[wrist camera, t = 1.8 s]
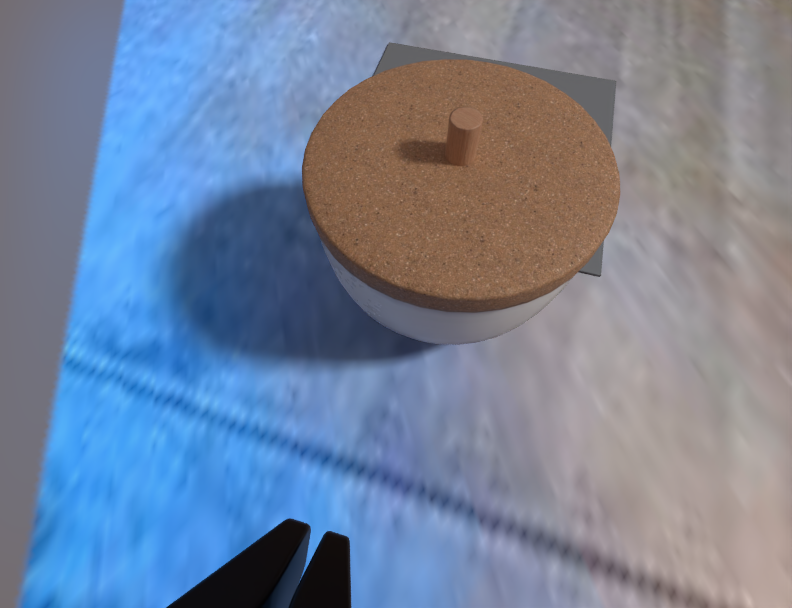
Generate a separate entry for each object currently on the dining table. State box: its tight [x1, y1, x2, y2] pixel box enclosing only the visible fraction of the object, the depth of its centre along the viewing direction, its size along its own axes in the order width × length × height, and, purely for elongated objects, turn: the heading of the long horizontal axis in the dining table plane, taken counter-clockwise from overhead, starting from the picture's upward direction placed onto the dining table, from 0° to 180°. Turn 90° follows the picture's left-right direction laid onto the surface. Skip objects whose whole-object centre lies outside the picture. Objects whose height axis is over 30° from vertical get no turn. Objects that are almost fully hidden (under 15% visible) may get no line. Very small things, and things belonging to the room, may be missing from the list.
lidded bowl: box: [302, 59, 620, 345], centre depth 21 cm, size 13×13×11 cm
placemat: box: [374, 42, 616, 277], centre depth 31 cm, size 18×18×1 cm
